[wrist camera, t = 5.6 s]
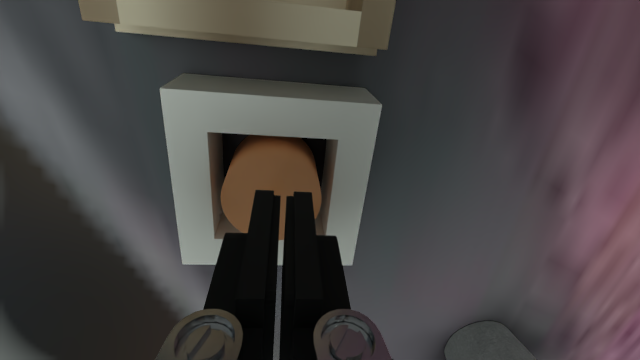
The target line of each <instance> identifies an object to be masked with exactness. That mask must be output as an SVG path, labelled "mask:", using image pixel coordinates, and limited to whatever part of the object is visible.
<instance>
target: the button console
mask: <svg viewBox="0 0 640 360" xmlns="http://www.w3.org/2000/svg"><path fill="white" fill-rule="evenodd" d="M159 89H160V96H161V104H162V112H163V119H164V127H165V135H166V142H167V150H168V158H169V165H170V173H171V181H172V188H173V196H174V204H175V212H176V219H177V227H178V235H179V242H180V250H181V258H182V264H196V265H216V263H217V259H218V256H219V252H220V248H221V245H222V241H223V238H224V235H225V233H242V232H240V231H239V230H238V229H236V228H235V227H234V226H233V225H232V224H231V223H230V222H229V220H228V219H227V217H226V216H225V214H224V212H223V209H222V205H221V190H222V186H223V183H224V164H223V142H222V133H232V134H249V135H266V136H284V137H301V138H318V139H327V141H326V150H325V159H324V168H323V177H322V185H321V196H322V201H321V207H320V210H319V213H318V215H317V217H316V219H315V226H316V235H331V236H336V237H337V240H338V245H339V250H340V255H341V261H342V265H352V264H353V258H354V253H355V247H356V242H357V237H358V231H359V226H360V221H361V215H362V210H363V205H364V199H365V194H366V189H367V183H368V178H369V173H370V167H371V162H372V157H373V151H374V146H375V141H376V135H377V130H378V125H379V119H380V114H381V109H382V104H381V103H380V102H379V101H378V100H377V99H376V98H375V97H374V96H373V95H372V94H371V93H370V92H369V91H368V90H367V89H366V88H361V87H349V86H336V85H324V84H311V83H299V82H287V81H274V80H262V79H249V78H237V77H225V76H212V75H200V74H187V73H183V74H181V75H180V76H178V77H177V78H175V79H173V80H172V81H170V82H169V83H167V84H165V85H164V86H162V87H161V88H159ZM283 248H284V239H283V240H279V243H278V264H277V265H283Z"/></svg>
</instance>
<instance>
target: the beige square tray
mask: <svg viewBox="0 0 640 360" xmlns="http://www.w3.org/2000/svg"><path fill="white" fill-rule="evenodd" d="M78 2H79V7H80V11H81V16H82V20H84V21H94V22H105V23H114V24H115V30H116V32H126V33H137V34H147V35H158V36H169V37H179V38H190V39H200V40H211V41H222V42H232V43H243V44H253V45H264V46H274V47H285V48H296V49H306V50H317V51H327V52H338V53H349V54H359V55H370V56H376V53H377V49H382V50H387V48H388V42H389V37H390V31H391V26H392V20H393V15H394V9H395V3H396V0H78Z"/></svg>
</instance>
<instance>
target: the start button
mask: <svg viewBox="0 0 640 360" xmlns="http://www.w3.org/2000/svg"><path fill="white" fill-rule="evenodd" d="M255 190H273V191H274V195H279V196H281V202H280V222H279V240H283V239H284V231H285V213H286V197H287V196H293V194H294V191H296V192H312V198H313V208H314V217H315V219H316V217H317V215H318V213H319V210H320V207H321V201H322V196H321V189H320V184H319V179H318V174H317V169H316V164H315V159H314V156H313V153H312V151H311V149H310V148H309V146H308V145H307V144H306V143H305V142H304V141H303V140H302V139H301V138H300V137H284V136H266V135H249V136H247V137H246V138H245V139H244V140H243V141H242V142H241V143H240V144H239V145H238V147H237V148H236V150H235V152H234V155H233V158H232V160H231V163H230V166H229V169H228V172H227V175H226V177H225V180H224V183H223V186H222V190H221V205H222V209H223V212H224V214H225V216H226V217H227V219H228V220H229V222H230V223H231V224H232V225H233V226H234V227H235V228H236V229H238V230H239V231H240V232H242V233H248V228H249V222H250V217H251V212H252V206H253V201H254V195H255Z"/></svg>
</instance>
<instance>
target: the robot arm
mask: <svg viewBox="0 0 640 360" xmlns="http://www.w3.org/2000/svg"><path fill="white" fill-rule="evenodd" d="M280 202H281V196H279V195H274V191H273V190H255V195H254V201H253V206H252V212H251V217H250V222H249V228H248V233H225V235H224V238H223V241H222V245H221V248H220V252H219V256H218V259H217V263H216V266H215V270H214V273H213V277H212V281H211V284H210V288H209V291H208V295H207V298H206V302H205V306H204V309H203V310H201V311H197V312H194V313H192V314H190V315H188V316H187V317H185V318H184V319H182V320H181V321H180V322H179V323H178V324H176V325H175V327H174V328H173V329H172V331H171V332H170V334H169V335H168V337H167V339H166V341H165V343H164V344H163V346H162V348H161V350H160V352H159V354H158V356H157V358H156V359H155V360H273V344H274V324H275V304H276V284H277V264H278V243H279V222H280ZM279 360H393V359H392V358H391V356H390V354H389V352H388V349H387V347H386V345H385V342H384V340H383V338H382V335H381V333H380V331H379V330H378V328H377V326H376V325H375V324H374V323H373V322H372V321H371V320H370V319H369V318H368V317H367V316H365V315H363V314H361V313H360V312H357V311H354V310H351V307H350V302H349V297H348V292H347V286H346V281H345V276H344V271H343V266H342V261H341V255H340V250H339V245H338V240H337V237H336V236H331V235H316V226H315V217H314V208H313V198H312V192H296V191H294V194H293V196H287V197H286V213H285V231H284V248H283V266H282V294H281V326H280V358H279Z"/></svg>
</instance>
